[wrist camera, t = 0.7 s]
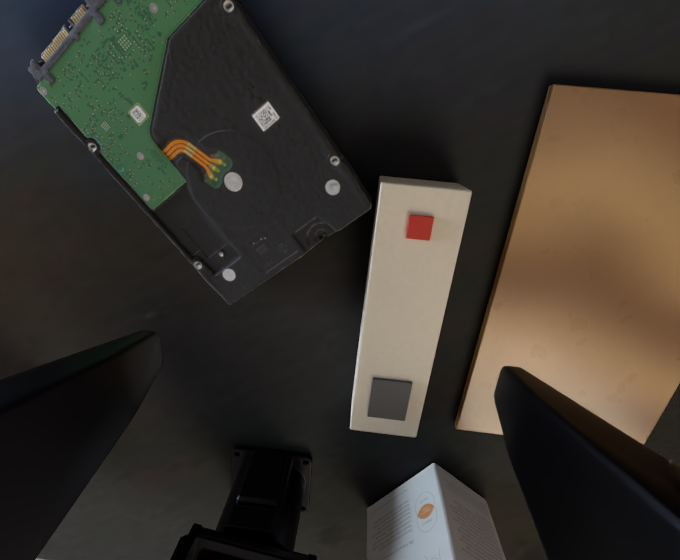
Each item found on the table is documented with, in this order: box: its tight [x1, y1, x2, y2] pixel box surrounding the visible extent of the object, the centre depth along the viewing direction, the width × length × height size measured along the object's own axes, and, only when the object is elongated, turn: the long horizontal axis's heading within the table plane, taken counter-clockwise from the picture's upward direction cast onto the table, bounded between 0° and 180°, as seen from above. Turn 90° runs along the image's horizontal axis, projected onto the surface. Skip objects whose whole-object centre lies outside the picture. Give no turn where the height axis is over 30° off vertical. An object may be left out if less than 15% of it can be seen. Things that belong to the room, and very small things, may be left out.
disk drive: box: [28, 0, 372, 304], centre depth 18 cm, size 10×3×15 cm
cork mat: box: [455, 84, 680, 445], centre depth 21 cm, size 22×13×1 cm, turn 175°
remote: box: [350, 176, 472, 437], centre depth 21 cm, size 16×4×3 cm, turn 175°
